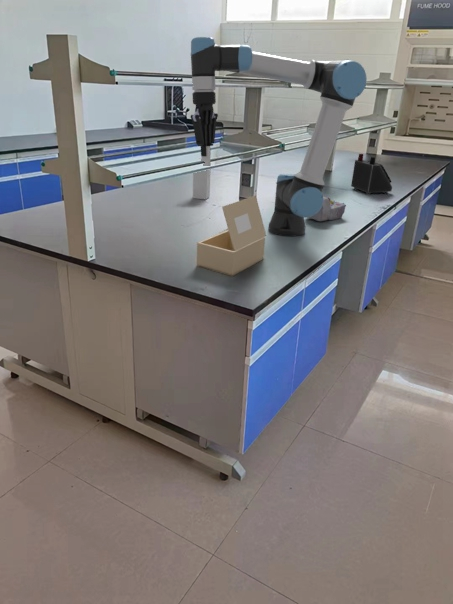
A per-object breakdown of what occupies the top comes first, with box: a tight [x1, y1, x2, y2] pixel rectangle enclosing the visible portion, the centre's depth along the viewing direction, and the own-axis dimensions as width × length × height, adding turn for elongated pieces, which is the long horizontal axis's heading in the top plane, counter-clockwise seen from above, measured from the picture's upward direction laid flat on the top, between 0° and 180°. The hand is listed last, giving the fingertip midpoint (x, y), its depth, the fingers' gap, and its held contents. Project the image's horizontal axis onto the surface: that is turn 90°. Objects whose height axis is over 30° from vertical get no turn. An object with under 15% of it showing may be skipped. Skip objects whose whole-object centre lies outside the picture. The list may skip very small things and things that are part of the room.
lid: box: [221, 195, 267, 251], centre depth 156 cm, size 20×14×1 cm
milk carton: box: [192, 169, 211, 200], centre depth 242 cm, size 7×7×19 cm
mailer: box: [196, 230, 266, 277], centre depth 163 cm, size 20×14×8 cm
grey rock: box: [306, 196, 347, 222], centre depth 220 cm, size 13×11×20 cm
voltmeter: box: [350, 153, 393, 195], centre depth 276 cm, size 16×16×20 cm
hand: (206, 165), depth 168 cm, fingers closed
